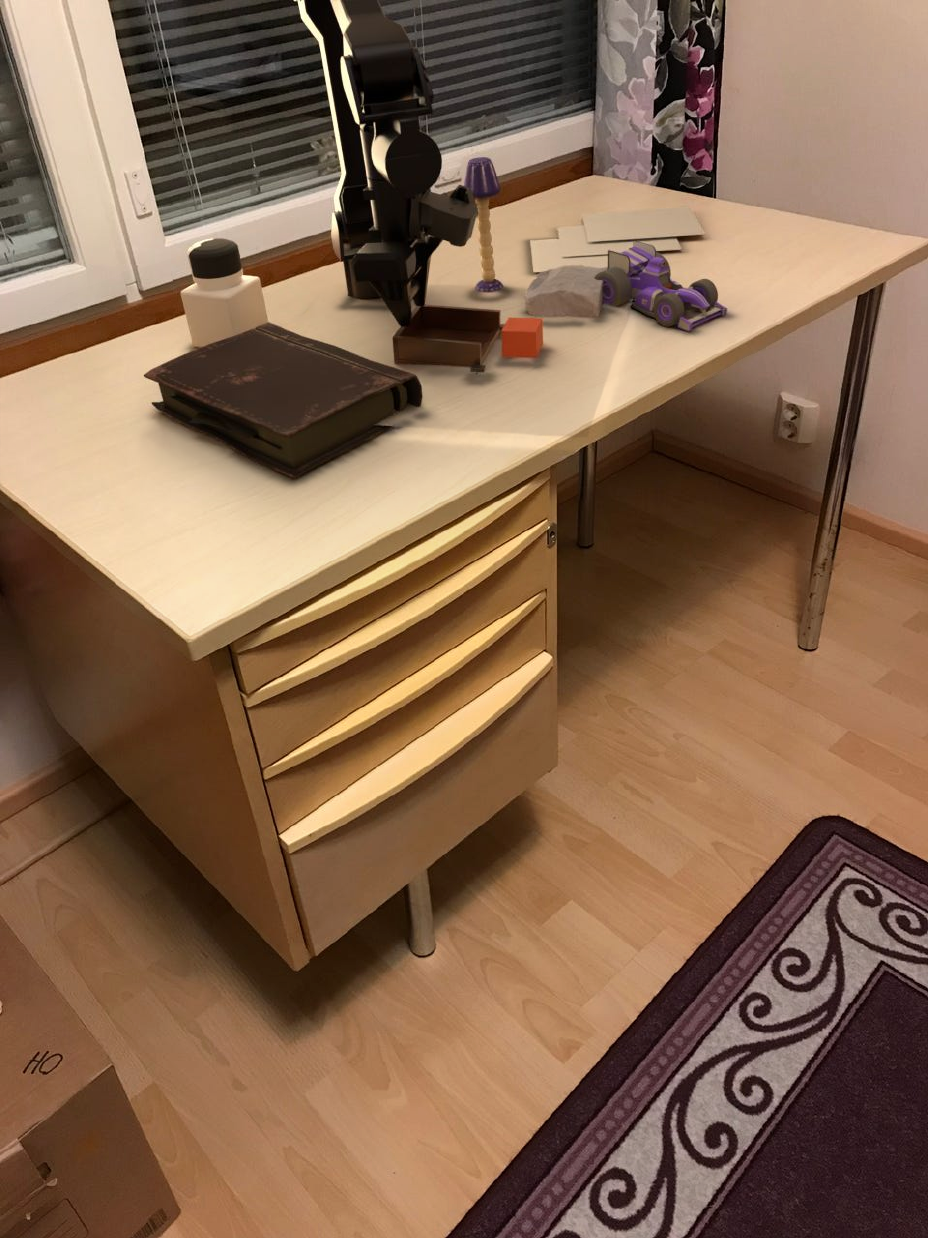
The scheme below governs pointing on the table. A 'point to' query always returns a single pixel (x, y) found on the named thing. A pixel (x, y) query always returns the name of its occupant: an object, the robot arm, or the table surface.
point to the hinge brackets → (482, 367)
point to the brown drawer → (446, 335)
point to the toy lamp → (484, 216)
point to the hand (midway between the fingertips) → (412, 315)
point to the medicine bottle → (220, 293)
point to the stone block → (566, 292)
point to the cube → (522, 337)
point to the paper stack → (613, 236)
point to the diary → (283, 396)
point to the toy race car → (656, 288)
